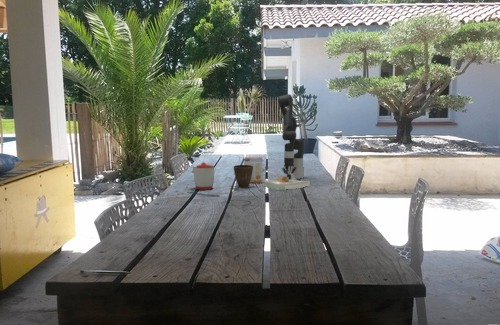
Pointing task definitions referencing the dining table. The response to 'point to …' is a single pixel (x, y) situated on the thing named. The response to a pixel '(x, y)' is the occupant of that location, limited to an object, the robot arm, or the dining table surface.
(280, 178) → the block
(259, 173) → the cracker box
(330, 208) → the dining table surface
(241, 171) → the plant pot
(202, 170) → the citrus juicer
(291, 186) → the box
